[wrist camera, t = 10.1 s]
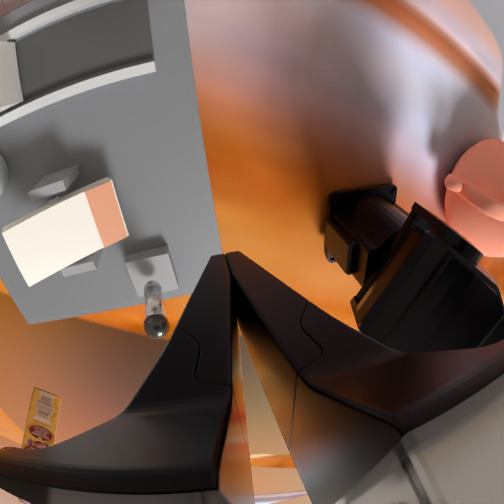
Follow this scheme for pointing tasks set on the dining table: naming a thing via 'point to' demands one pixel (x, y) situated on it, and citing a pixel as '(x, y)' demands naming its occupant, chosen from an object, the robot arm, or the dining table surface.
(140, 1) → the switch panel
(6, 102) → the slide paddle
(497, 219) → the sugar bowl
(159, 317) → the toggle lever
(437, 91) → the dining table surface
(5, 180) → the push button
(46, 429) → the candy box
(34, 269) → the rocker switch
